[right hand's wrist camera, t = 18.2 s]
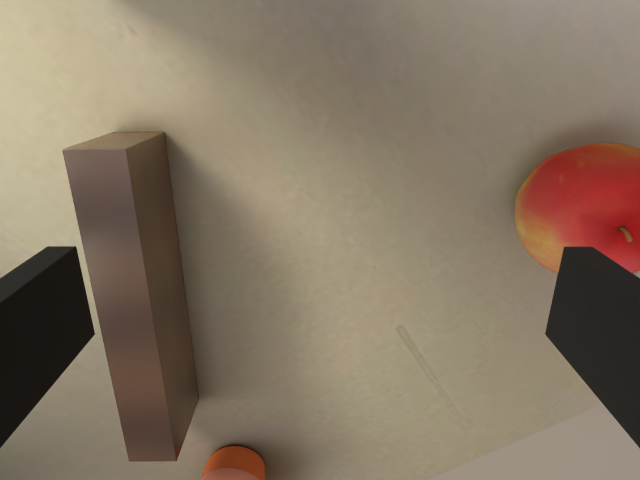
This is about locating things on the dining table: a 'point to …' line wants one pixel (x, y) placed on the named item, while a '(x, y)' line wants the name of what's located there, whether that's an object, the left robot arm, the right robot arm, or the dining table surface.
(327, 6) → the dining table surface
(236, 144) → the dining table surface
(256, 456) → the cup with straw
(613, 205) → the apple
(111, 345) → the walnut beam
